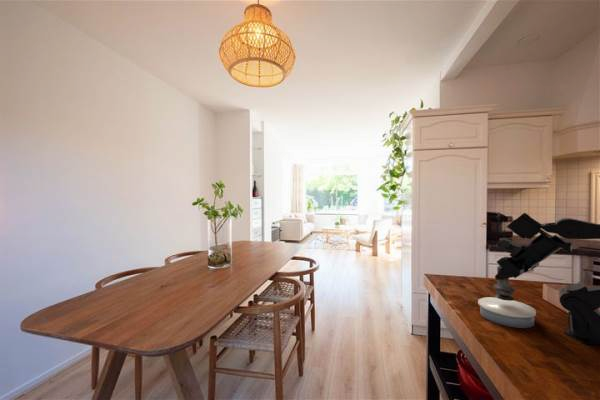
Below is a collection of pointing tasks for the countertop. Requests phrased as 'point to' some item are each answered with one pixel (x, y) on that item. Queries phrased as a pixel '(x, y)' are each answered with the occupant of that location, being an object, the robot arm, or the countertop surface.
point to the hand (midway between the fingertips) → (498, 277)
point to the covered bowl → (507, 312)
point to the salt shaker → (504, 288)
